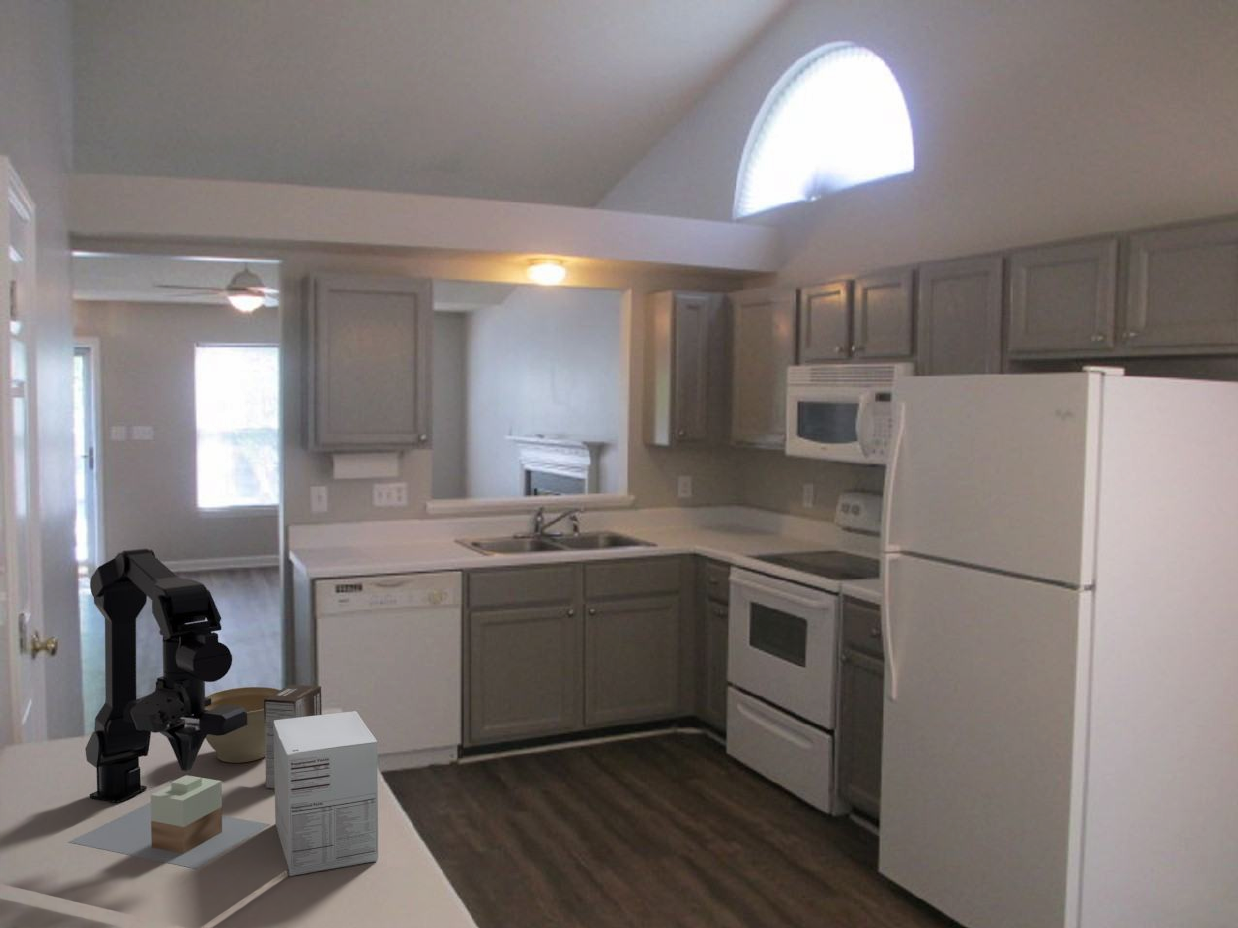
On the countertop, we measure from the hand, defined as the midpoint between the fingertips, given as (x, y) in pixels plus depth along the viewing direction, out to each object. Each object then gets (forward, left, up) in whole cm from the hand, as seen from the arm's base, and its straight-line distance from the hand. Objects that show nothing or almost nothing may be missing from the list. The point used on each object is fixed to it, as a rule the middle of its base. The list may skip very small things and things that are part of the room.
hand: (186, 770), depth 154 cm
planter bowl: (-19, +35, -12) cm, 42 cm away
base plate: (-4, +1, -12) cm, 13 cm away
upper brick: (0, 0, -7) cm, 7 cm away
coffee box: (-2, +28, -12) cm, 31 cm away
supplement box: (+19, +8, -12) cm, 24 cm away
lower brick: (0, 0, -11) cm, 11 cm away
